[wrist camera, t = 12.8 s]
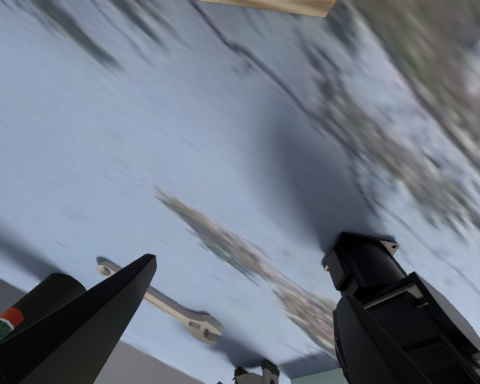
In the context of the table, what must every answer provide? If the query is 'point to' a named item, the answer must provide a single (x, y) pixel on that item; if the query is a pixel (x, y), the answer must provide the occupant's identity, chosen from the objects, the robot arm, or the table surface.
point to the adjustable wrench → (174, 310)
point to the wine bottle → (39, 304)
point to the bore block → (285, 5)
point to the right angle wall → (322, 378)
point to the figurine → (269, 380)
